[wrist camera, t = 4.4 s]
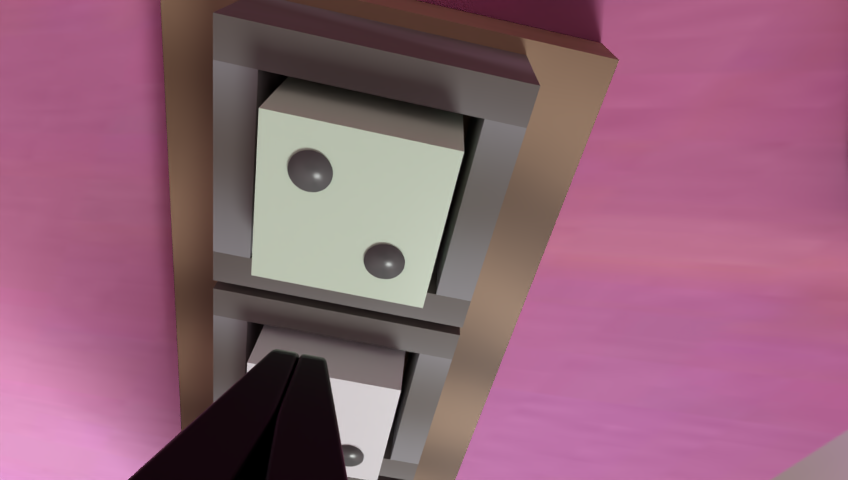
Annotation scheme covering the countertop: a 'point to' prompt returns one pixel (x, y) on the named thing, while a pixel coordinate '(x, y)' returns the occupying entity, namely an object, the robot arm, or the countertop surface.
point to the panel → (467, 217)
